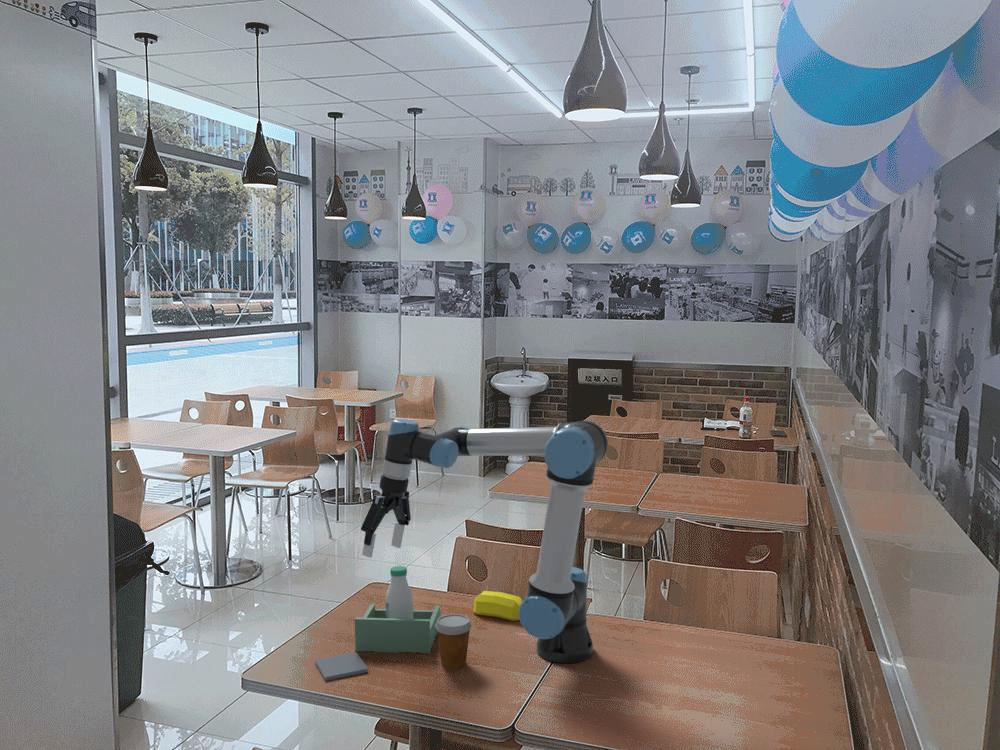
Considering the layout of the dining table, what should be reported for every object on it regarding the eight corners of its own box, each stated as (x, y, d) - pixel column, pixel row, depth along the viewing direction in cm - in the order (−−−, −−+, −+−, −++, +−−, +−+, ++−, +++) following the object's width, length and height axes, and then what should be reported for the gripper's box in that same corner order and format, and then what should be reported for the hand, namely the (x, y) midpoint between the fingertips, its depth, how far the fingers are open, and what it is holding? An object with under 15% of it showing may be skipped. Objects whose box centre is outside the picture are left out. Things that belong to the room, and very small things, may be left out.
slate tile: (368, 672, 213) (367, 668, 213) (325, 681, 209) (325, 677, 208) (356, 655, 223) (356, 652, 223) (315, 663, 218) (315, 659, 218)
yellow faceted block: (521, 625, 244) (531, 615, 251) (521, 603, 243) (531, 594, 250) (467, 615, 252) (478, 606, 258) (466, 593, 251) (478, 585, 258)
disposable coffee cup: (455, 676, 211) (455, 630, 210) (428, 666, 217) (427, 621, 216) (479, 662, 219) (479, 618, 217) (451, 653, 224) (451, 610, 223)
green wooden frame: (372, 621, 246) (371, 592, 245) (440, 623, 245) (440, 593, 244) (355, 651, 226) (354, 619, 225) (429, 653, 224) (429, 621, 223)
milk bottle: (418, 634, 237) (417, 565, 235) (404, 644, 230) (403, 574, 228) (395, 629, 240) (394, 562, 238) (380, 639, 233) (379, 570, 231)
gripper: (409, 467, 238) (396, 538, 240) (356, 477, 215) (342, 555, 217) (431, 474, 234) (417, 546, 236) (379, 485, 212) (365, 564, 214)
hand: (381, 551), depth 227 cm, fingers open, 13 cm apart
